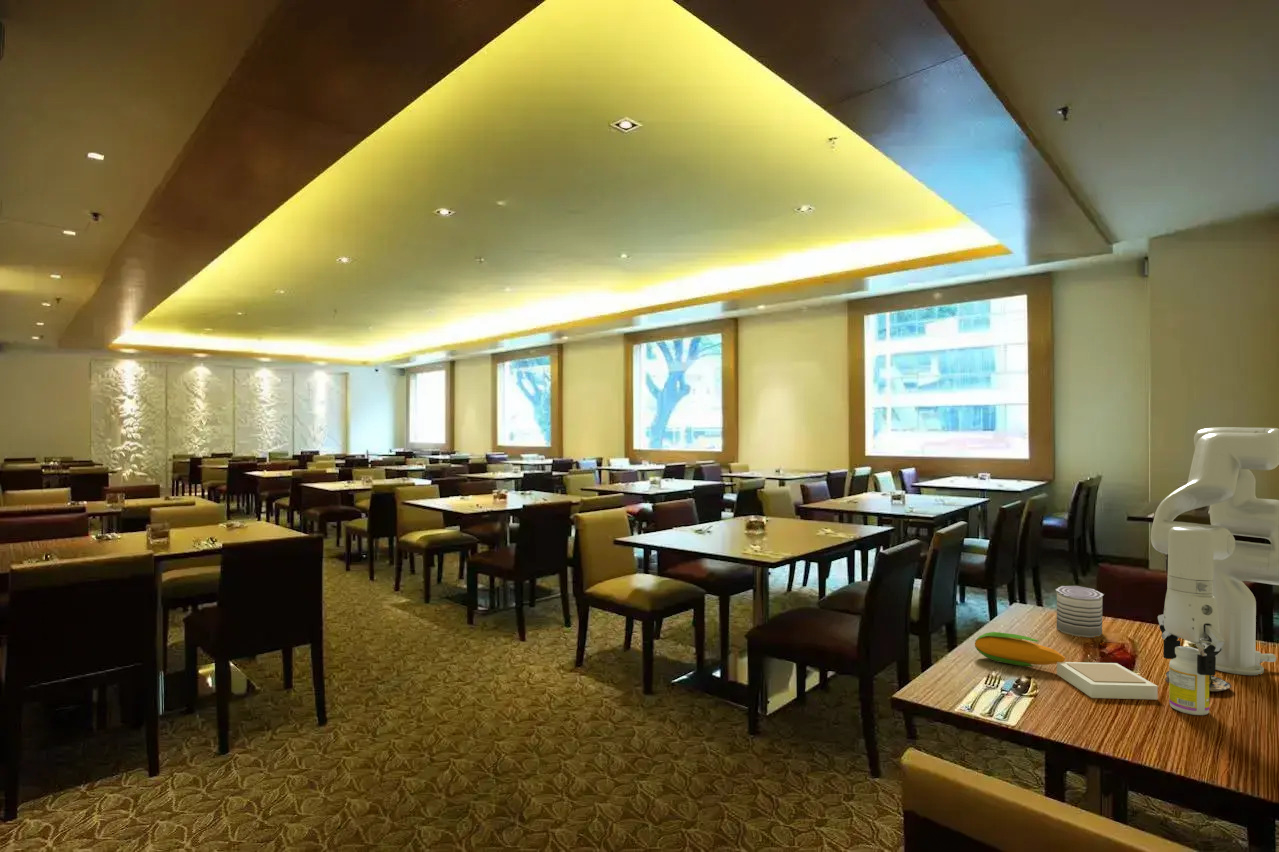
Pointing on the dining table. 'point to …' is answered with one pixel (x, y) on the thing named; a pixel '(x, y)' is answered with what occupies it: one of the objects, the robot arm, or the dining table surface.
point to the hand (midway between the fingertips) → (1188, 666)
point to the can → (1079, 611)
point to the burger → (1212, 683)
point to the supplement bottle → (1188, 683)
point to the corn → (1016, 650)
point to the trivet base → (1106, 680)
